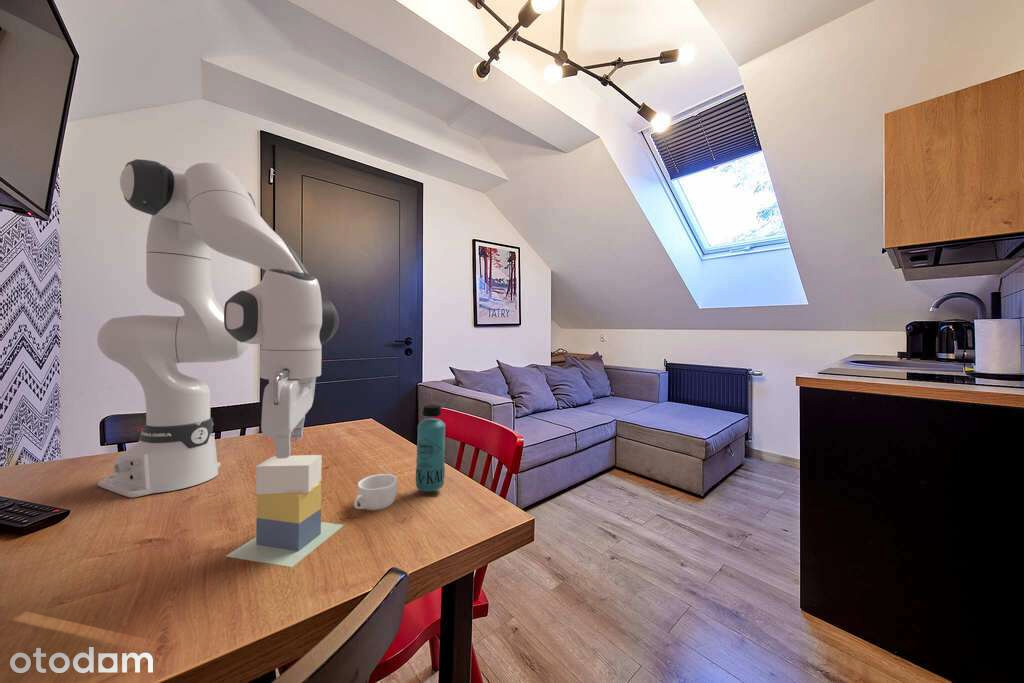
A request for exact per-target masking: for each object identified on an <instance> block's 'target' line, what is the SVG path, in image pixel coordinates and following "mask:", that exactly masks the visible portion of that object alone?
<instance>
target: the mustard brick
mask: <svg viewBox="0 0 1024 683" xmlns="http://www.w3.org/2000/svg"><path fill="white" fill-rule="evenodd" d="M320 509H321V510H322V483H321V482H319V483H318V484H317V485H316V486H315V487H314V488H313V489H312V490H311V491H310V492H309V493H277V494H256V519H257V518H262V519H269V520H276V521H284V522H291V523H298V524H299V523H301V522H302V521H303V520H305V519H306V518H308V517H309V516H311V515H312V514H314V513H315V512H317V511H318V510H320Z"/></svg>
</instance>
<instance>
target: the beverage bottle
mask: <svg viewBox="0 0 1024 683" xmlns="http://www.w3.org/2000/svg"><path fill="white" fill-rule="evenodd" d="M441 415H442V406H441V405H439V404H426V405H424V406H423V412H422V416H425V417H431V418H424V419H422V420H420V422H419V423H418V424H417V441H416V442H417V444H416V454H415V456H416V457H415V458H416V460H415V461H416V466H415V486H416V489H417V490H419V491H422V492H433V491H434V492H435V491H437V490H440V489H441V488H442V487H443V486H444V484H445V482H444V481H445V474H446V471H445V470H446V465H445V458H446V456H445V455H446V450H445V447H446V446H445V445H446V443H445V442H446V440H445V439H446V423H445V422H444V421H443V420H442V419H440V418H432V417H439V416H441Z"/></svg>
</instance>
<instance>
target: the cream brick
mask: <svg viewBox="0 0 1024 683" xmlns="http://www.w3.org/2000/svg"><path fill="white" fill-rule="evenodd" d="M322 460H323V457H322V454H309V455H308V454H305V455H301V454H300V455H298V454H297V455H291V454H290V455H289V457H288V458H281V459H278V458H277V457H276V455H272V456H270V457H269V458H267V459H266V460H263V461H262V462H261V463H259V464H257V465H256V466H255V470H256V471H255V494H256V495H257V494H277V493H309V492H310V491H311V490H312V489H313V488H314V487H315V486H316V485H317V484H318V483H321V482H322V465H323V464H322Z"/></svg>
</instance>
